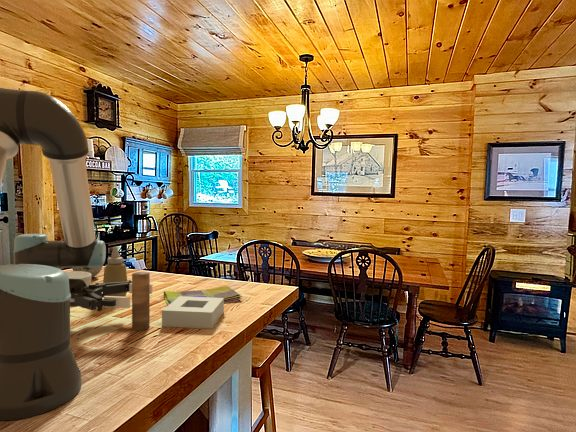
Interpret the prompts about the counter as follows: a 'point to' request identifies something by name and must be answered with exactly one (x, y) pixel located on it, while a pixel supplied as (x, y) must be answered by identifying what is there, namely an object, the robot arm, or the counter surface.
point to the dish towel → (205, 294)
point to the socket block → (193, 312)
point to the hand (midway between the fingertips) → (141, 295)
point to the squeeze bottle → (115, 271)
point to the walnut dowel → (140, 301)
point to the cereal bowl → (80, 276)
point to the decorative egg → (89, 270)
